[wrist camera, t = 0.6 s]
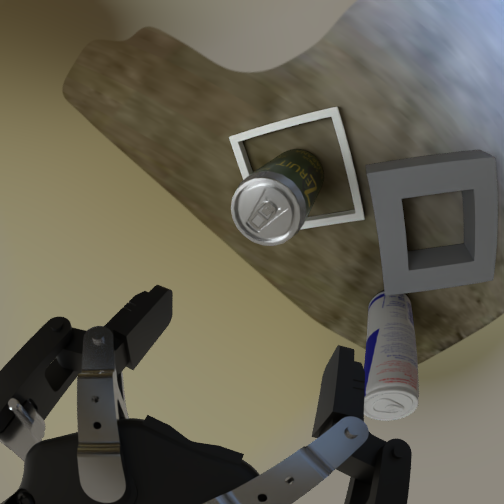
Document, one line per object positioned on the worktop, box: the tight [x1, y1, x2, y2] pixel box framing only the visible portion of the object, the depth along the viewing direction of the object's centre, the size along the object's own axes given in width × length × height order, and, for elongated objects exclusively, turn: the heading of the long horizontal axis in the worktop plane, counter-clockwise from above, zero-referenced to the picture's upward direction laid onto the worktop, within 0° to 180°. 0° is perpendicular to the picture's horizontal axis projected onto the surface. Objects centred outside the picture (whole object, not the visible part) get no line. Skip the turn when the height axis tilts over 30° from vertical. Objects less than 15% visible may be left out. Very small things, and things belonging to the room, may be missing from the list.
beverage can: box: [364, 291, 419, 420], centre depth 27 cm, size 6×6×15 cm
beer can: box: [231, 149, 324, 246], centre depth 24 cm, size 5×5×12 cm
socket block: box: [366, 150, 498, 296], centre depth 24 cm, size 13×13×4 cm
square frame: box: [229, 107, 365, 229], centre depth 29 cm, size 12×12×1 cm
